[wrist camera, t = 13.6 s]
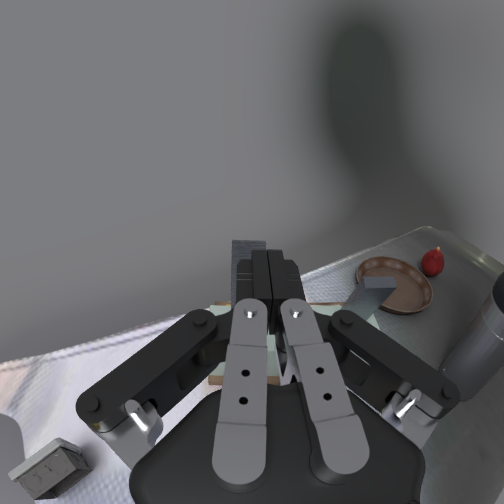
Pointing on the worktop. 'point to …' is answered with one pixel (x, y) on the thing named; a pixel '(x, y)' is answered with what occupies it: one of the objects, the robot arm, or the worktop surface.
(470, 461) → the worktop surface
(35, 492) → the electrical switch
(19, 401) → the worktop surface
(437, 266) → the onion
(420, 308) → the plant saucer
